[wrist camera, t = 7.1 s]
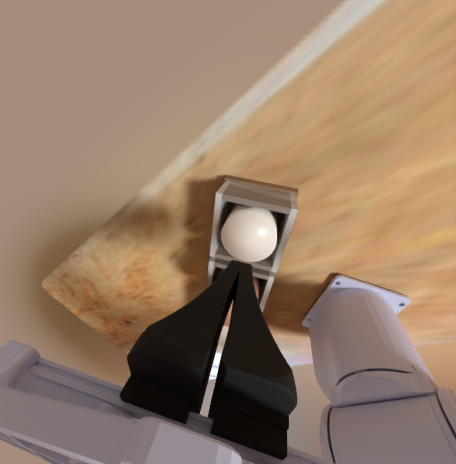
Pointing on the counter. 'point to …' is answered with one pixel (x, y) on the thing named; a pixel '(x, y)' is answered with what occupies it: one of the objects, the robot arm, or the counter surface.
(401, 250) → the counter surface
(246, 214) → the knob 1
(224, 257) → the mount
